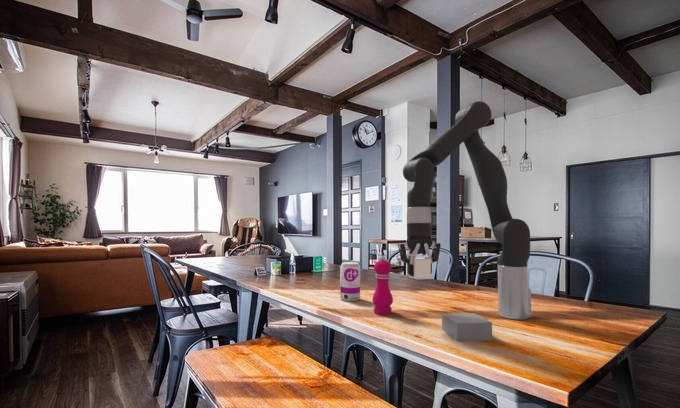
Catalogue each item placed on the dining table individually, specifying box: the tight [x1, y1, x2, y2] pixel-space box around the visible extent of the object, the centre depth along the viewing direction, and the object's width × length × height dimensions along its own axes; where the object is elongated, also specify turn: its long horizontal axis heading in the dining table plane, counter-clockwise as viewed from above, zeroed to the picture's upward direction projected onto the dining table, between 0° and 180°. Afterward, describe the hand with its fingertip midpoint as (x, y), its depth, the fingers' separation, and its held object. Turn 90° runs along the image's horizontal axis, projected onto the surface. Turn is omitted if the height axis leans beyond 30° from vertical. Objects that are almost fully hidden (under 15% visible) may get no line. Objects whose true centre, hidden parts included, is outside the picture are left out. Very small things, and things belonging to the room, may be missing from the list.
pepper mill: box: [372, 255, 394, 316], centre depth 123 cm, size 7×7×20 cm
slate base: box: [441, 312, 493, 342], centre depth 98 cm, size 10×10×5 cm
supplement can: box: [339, 261, 361, 302], centre depth 144 cm, size 8×8×15 cm
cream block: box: [408, 257, 432, 280], centre depth 109 cm, size 5×5×6 cm
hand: (419, 275), depth 108 cm, fingers closed on cream block, 5 cm apart
